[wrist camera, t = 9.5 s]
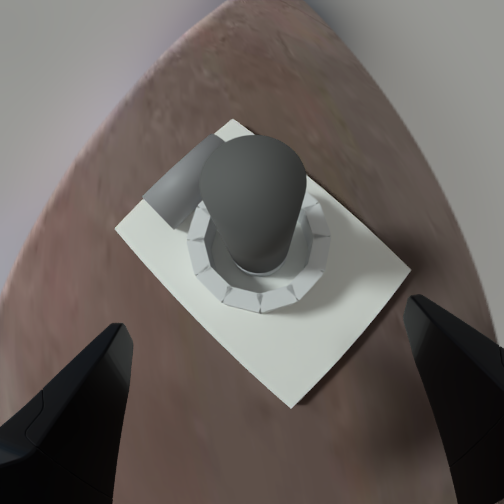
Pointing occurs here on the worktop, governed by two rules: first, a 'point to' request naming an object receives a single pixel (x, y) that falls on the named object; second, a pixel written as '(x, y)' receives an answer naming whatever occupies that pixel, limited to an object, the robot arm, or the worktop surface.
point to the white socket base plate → (269, 287)
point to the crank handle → (254, 200)
